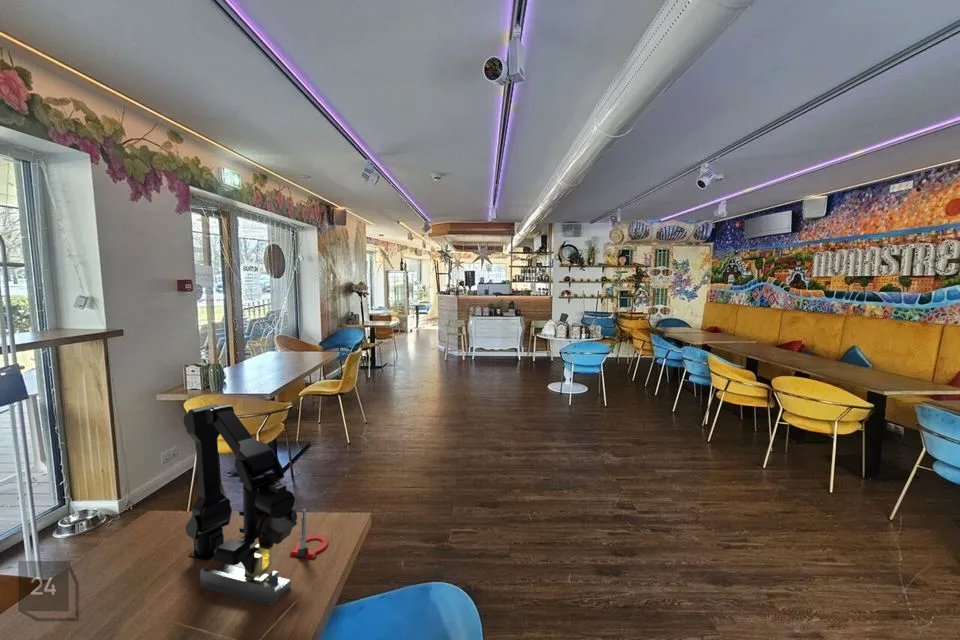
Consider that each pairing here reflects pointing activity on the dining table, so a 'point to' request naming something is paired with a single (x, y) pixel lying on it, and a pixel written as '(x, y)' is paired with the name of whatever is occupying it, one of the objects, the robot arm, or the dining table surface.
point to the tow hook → (301, 547)
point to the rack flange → (244, 584)
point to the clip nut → (261, 561)
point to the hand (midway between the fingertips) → (258, 566)
